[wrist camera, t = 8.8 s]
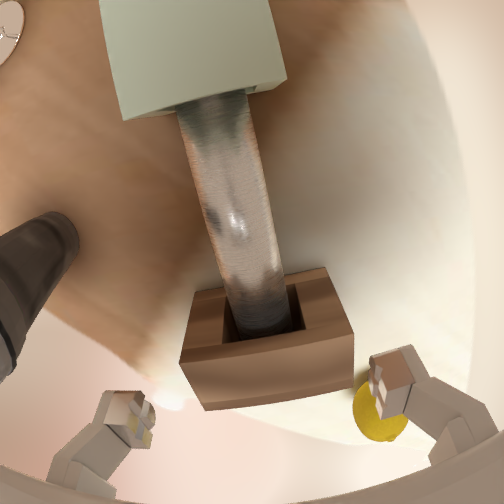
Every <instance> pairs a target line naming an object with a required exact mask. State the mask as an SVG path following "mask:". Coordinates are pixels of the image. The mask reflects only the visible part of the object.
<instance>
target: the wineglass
mask: <svg viewBox="0 0 504 504" xmlns="http://www.w3.org/2000/svg"><path fill="white" fill-rule="evenodd" d="M24 19H25V16H24V10H23V7H22V6H21V4H20V3H18V2H16V1H8V2H5V3H3V4H1V5H0V66H1V65H2V64H3V63H4V62H5V61H6V60H7V59H8V58H9V56H10V55H11V54H12V52H13V50H14V49H15V47H16V45H17V43H18V41H19V39H20V36H21V34H22V30H23V26H24Z"/></svg>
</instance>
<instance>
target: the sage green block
mask: <svg viewBox="0 0 504 504" xmlns="http://www.w3.org/2000/svg"><path fill="white" fill-rule="evenodd" d="M99 6H100V12H101V19H102V25H103V30H104V36H105V41H106V47H107V52H108V57H109V62H110V67H111V71H112V76H113V80H114V85H115V89H116V94H117V98H118V102H119V106H120V110H121V114H122V118H123V121H126V120H133V119H140V118H148V117H156V116H164V115H167V114H170V113H174V112H176V110H175V105H177V104H181V103H184V102H188V101H192V100H195V99H199V98H203V97H207V96H211V95H215V94H219V93H223V92H228V91H232V90H237V89H242V88H244V89H245V91H246V94H251V93H256V92H262V91H267V90H273V89H274V88H275V87H277V86H278V85H280V84H281V83H282V82H284V81H285V80H287V75H286V70H285V66H284V62H283V57H282V53H281V49H280V45H279V41H278V37H277V33H276V29H275V25H274V21H273V17H272V14H271V10H270V6H269V2H268V0H99Z"/></svg>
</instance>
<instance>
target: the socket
mask: <svg viewBox="0 0 504 504" xmlns="http://www.w3.org/2000/svg"><path fill="white" fill-rule="evenodd" d="M284 279H285V285H286V290H287V296H288V301H289V307H290V312H291V318H292V324H293V329H294V332H291V333H286V334H280V335H275V336H269V337H264V338H258V339H252V340H246V341H241V338H240V335H239V332H238V329H237V326H236V323H235V319H234V316H233V313H232V310H231V307H230V303H229V300H228V297H227V294H226V291H225V287H222V288H217V289H211V290H206V291H200V292H195V294H194V298H193V303H192V307H191V311H190V315H189V320H188V324H187V328H186V333H185V337H184V342H183V346H182V351H181V356H180V360H179V365H180V367H181V369H182V371H183V372H184V374H185V376H186V378H187V380H188V382H189V383H190V385H191V387H192V389H193V391H194V392H195V394H196V396H197V398H198V399H199V401H200V403H201V405H202V406H203V408H204V410H205V411H213V410H224V409H233V408H242V407H250V406H258V405H265V404H271V403H278V402H284V401H290V400H295V399H301V398H306V397H311V396H316V395H321V394H325V393H330V392H334V391H339V390H343V389H347V388H351V387H353V376H354V332H353V330H352V327H351V325H350V323H349V320H348V318H347V316H346V313H345V311H344V309H343V306H342V304H341V302H340V299H339V297H338V295H337V293H336V290H335V288H334V286H333V284H332V281H331V279H330V277H329V275H328V273H327V270H326V268H325V267H324V268H319V269H315V270H310V271H305V272H300V273H295V274H290V275H285V276H284Z"/></svg>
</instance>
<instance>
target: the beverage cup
mask: <svg viewBox="0 0 504 504" xmlns="http://www.w3.org/2000/svg"><path fill="white" fill-rule="evenodd" d="M78 250H79V238H78V235H77V231H76V229H75V228H74V226H73V224H72V223H71V222H70V221H69V220H68V219H67V218H66V217H65V216H63V215H62V214H60V213H56V212H48V213H45V214H44V215H42V216H39V217H36V218H33V219H31V220H29V221H27V222H26V223H24V224H22V225H20V226H18V227H16V228H14V229H13V230H11V231H9V232H7V233H5V234H4V235H2V236H0V383H1V382H3V380H4V379H5V378H6V376H8V375H10V374H11V373H12V372H13V370H14V369H15V367H16V365H17V363H16V359H17V357H18V356H19V354H20V352H21V349H22V347H23V344H24V342H25V340H26V334H27V332H28V330H29V328H30V327H31V325H32V323H33V322H34V320H35V318H36V317H37V315H38V314H39V312H40V310H41V309H42V307H43V305H44V304H45V302H46V301H47V299H48V298H49V296H50V295H51V293H52V291H53V290H54V288H55V287H56V285H57V284H58V282H59V281H60V279H61V278H62V277H63V275H64V274H65V272H66V271H67V269H68V268H69V266H70V265H71V262H72V261H73V259H74V258H75V257H76V255H77V253H78Z"/></svg>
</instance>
